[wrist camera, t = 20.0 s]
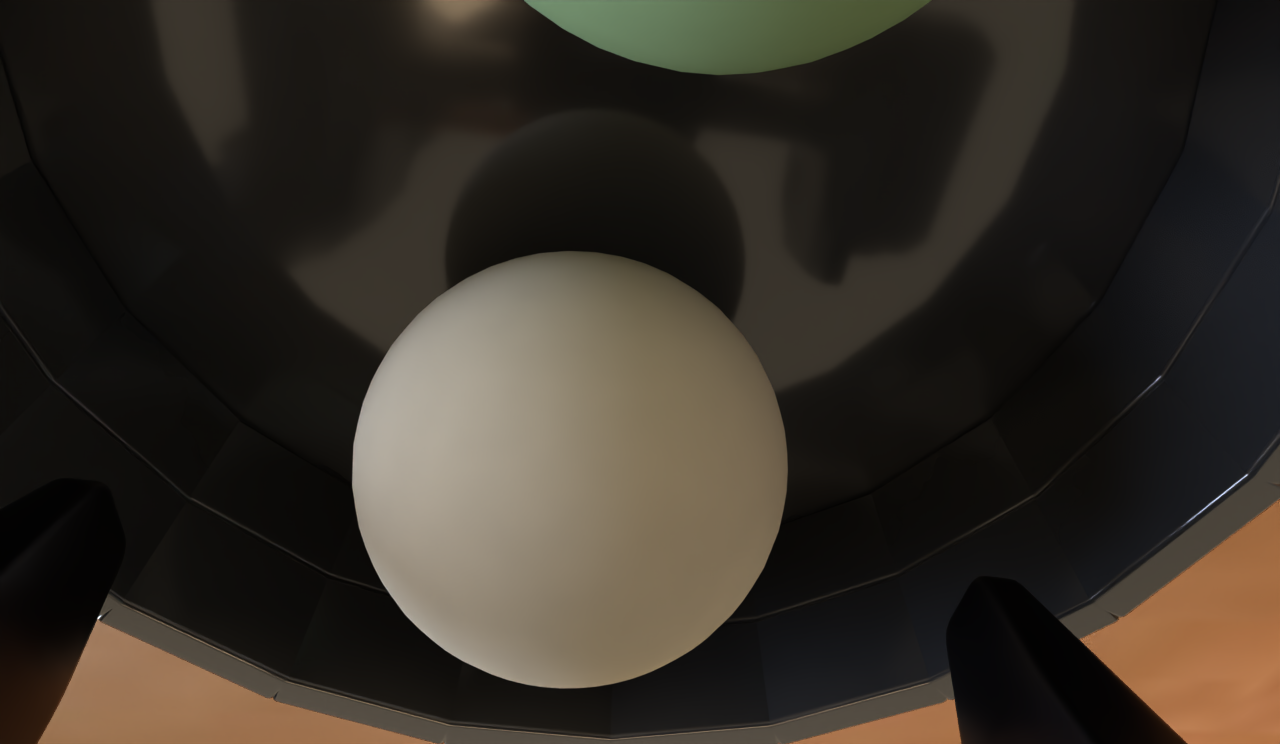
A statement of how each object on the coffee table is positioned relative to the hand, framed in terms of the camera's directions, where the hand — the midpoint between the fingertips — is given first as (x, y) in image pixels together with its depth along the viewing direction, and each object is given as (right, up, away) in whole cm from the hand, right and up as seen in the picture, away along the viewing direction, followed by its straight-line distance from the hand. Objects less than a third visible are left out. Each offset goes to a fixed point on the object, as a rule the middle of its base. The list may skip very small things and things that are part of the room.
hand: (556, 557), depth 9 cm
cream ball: (0, +1, +1) cm, 1 cm away
